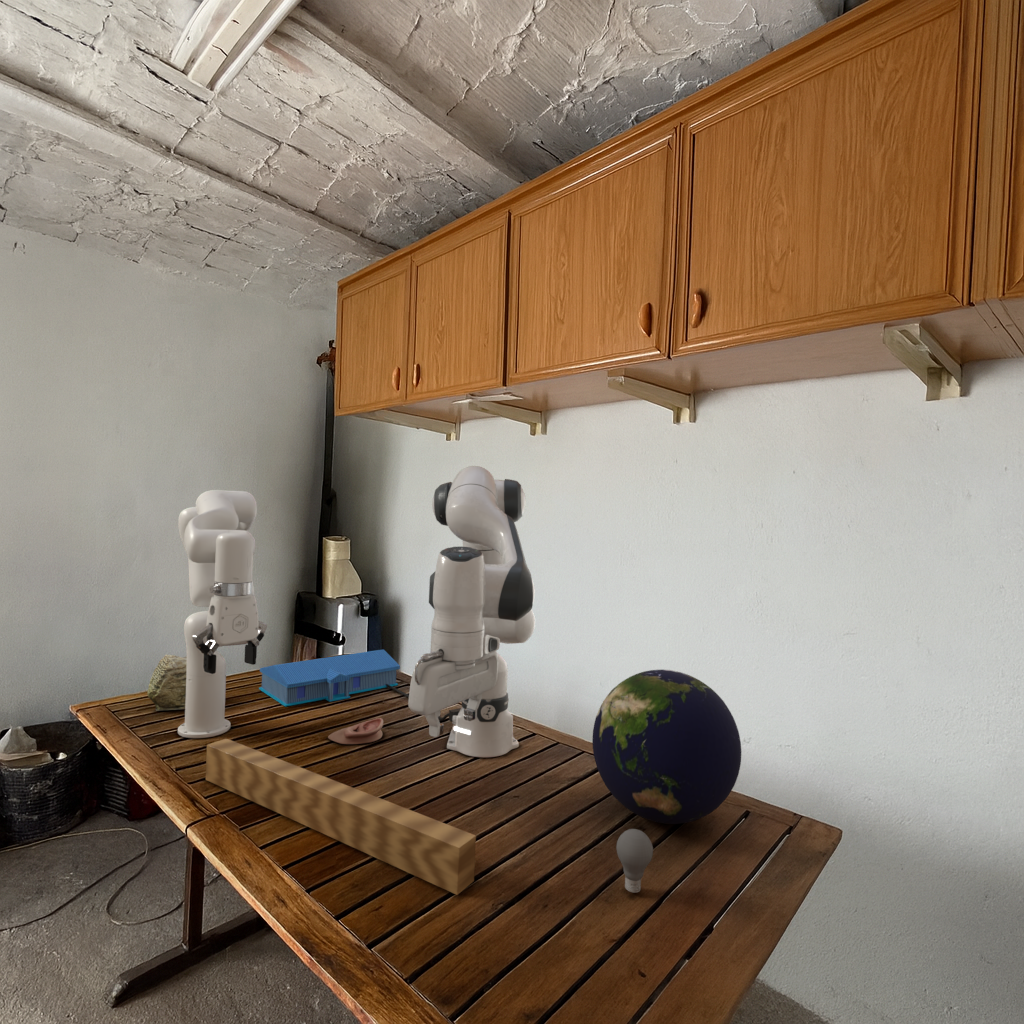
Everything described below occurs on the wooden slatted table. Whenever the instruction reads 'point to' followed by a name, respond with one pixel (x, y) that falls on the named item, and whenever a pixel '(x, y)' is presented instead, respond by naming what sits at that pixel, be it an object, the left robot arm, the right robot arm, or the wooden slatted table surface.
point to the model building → (329, 677)
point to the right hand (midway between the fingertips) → (453, 727)
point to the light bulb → (634, 857)
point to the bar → (347, 815)
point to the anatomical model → (359, 733)
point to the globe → (666, 746)
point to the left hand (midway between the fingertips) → (230, 667)
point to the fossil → (169, 683)
